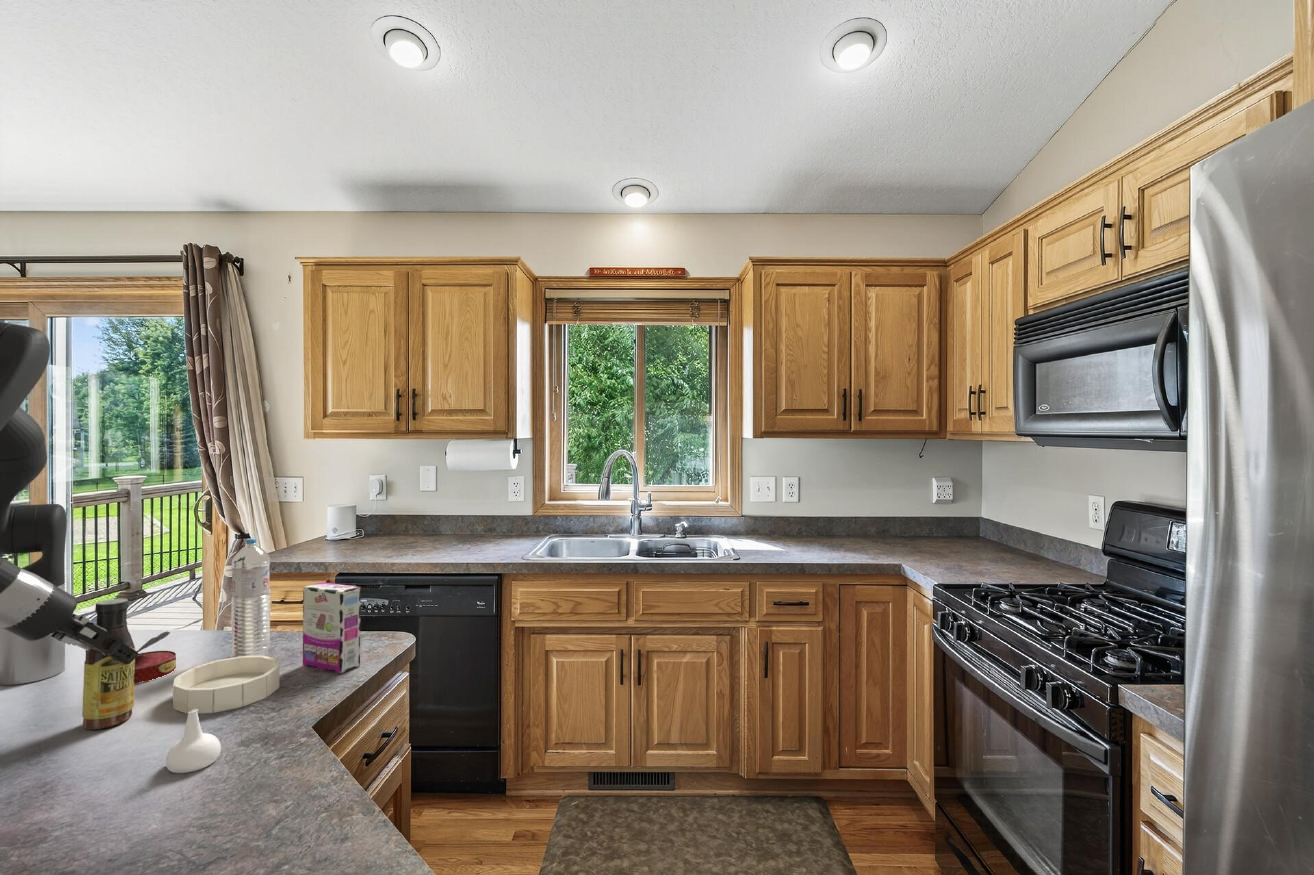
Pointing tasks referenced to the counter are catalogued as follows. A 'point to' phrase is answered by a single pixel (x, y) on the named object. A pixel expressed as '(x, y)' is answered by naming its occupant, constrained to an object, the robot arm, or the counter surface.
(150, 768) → the counter surface
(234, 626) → the water bottle
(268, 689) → the bowl
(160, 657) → the canned food
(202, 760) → the garlic bulb
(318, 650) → the candy bar box
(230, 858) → the counter surface
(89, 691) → the sauce bottle
